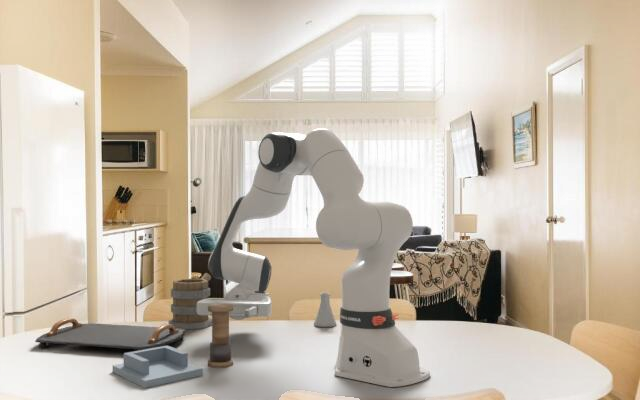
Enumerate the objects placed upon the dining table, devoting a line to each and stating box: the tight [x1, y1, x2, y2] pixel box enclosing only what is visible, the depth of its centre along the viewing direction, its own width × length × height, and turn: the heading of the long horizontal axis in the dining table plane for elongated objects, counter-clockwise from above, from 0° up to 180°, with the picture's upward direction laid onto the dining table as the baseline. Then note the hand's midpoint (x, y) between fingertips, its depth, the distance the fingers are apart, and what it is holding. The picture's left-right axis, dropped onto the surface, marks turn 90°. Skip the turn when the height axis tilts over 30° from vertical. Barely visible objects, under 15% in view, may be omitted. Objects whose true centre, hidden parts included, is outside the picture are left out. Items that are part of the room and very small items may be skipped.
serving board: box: [34, 318, 187, 351], centre depth 169 cm, size 39×23×6 cm, turn 75°
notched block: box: [112, 345, 204, 389], centre depth 139 cm, size 16×14×4 cm
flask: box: [313, 292, 338, 328], centre depth 192 cm, size 7×7×10 cm
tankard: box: [168, 272, 212, 331], centre depth 195 cm, size 20×13×15 cm, turn 162°
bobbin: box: [207, 304, 234, 369], centre depth 147 cm, size 6×6×14 cm
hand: (229, 313), depth 160 cm, fingers open, 8 cm apart
